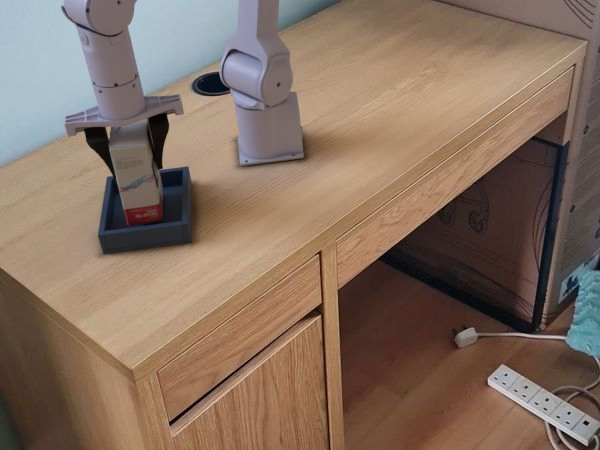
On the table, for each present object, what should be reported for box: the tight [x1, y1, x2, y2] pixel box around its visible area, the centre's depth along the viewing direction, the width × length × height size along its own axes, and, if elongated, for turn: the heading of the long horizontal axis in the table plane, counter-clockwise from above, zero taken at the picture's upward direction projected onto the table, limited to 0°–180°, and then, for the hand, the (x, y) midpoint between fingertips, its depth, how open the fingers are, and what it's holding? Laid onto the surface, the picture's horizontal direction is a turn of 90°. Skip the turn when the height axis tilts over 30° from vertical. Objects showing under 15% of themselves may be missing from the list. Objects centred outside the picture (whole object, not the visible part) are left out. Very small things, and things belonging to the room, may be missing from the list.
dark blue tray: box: [97, 166, 193, 255], centre depth 107 cm, size 12×14×3 cm
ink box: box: [108, 119, 163, 226], centre depth 104 cm, size 9×5×12 cm, turn 8°
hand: (138, 169), depth 103 cm, fingers closed on ink box, 5 cm apart
